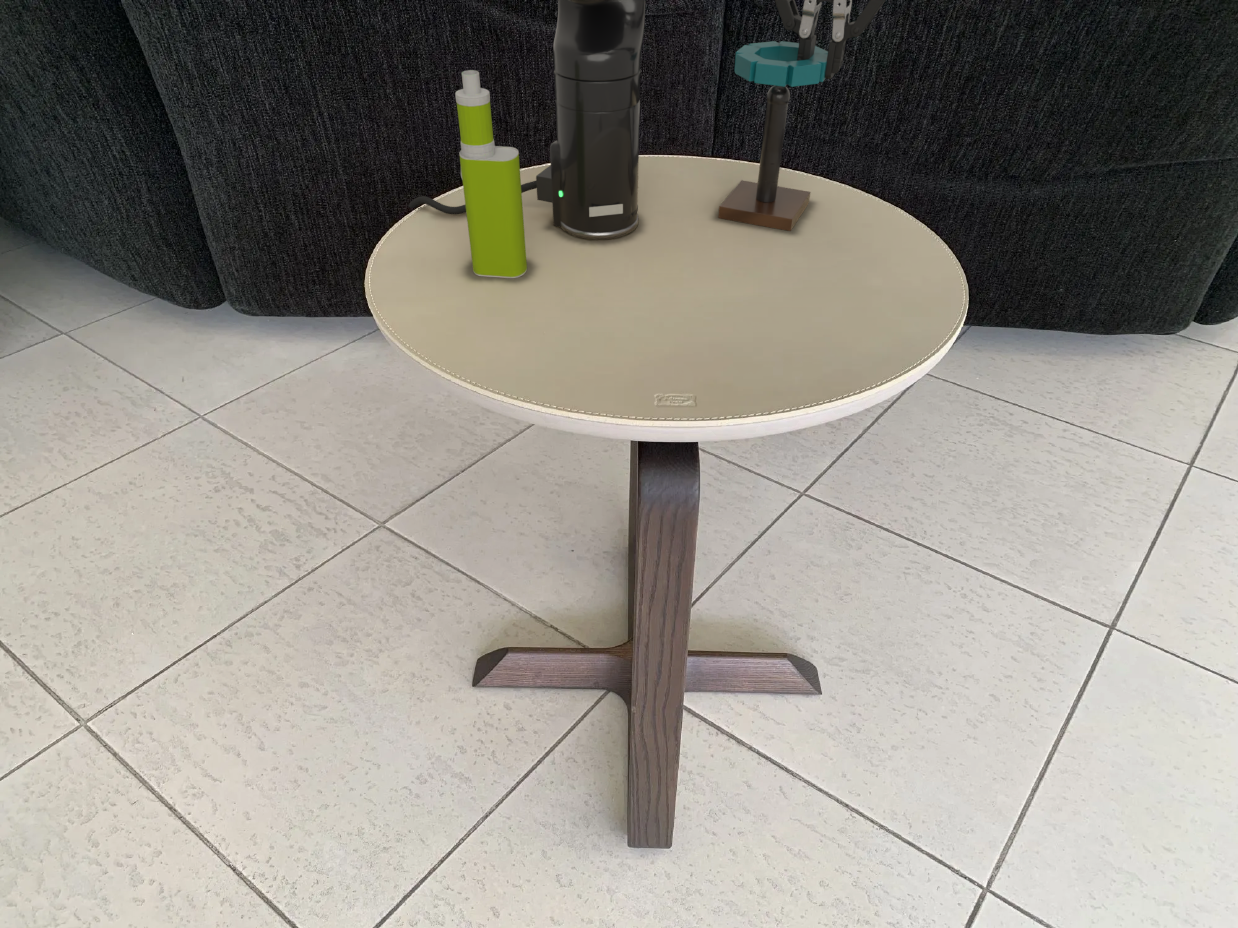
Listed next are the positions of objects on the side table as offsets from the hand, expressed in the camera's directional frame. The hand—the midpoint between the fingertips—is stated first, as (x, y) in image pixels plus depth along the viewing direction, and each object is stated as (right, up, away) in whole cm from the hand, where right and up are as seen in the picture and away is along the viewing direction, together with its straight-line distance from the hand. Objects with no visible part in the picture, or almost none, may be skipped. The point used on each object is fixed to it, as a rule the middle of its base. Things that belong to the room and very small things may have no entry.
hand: (817, 74), depth 91 cm
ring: (-4, +1, +1) cm, 4 cm away
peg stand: (-4, -11, +12) cm, 17 cm away
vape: (-35, -22, 0) cm, 41 cm away
